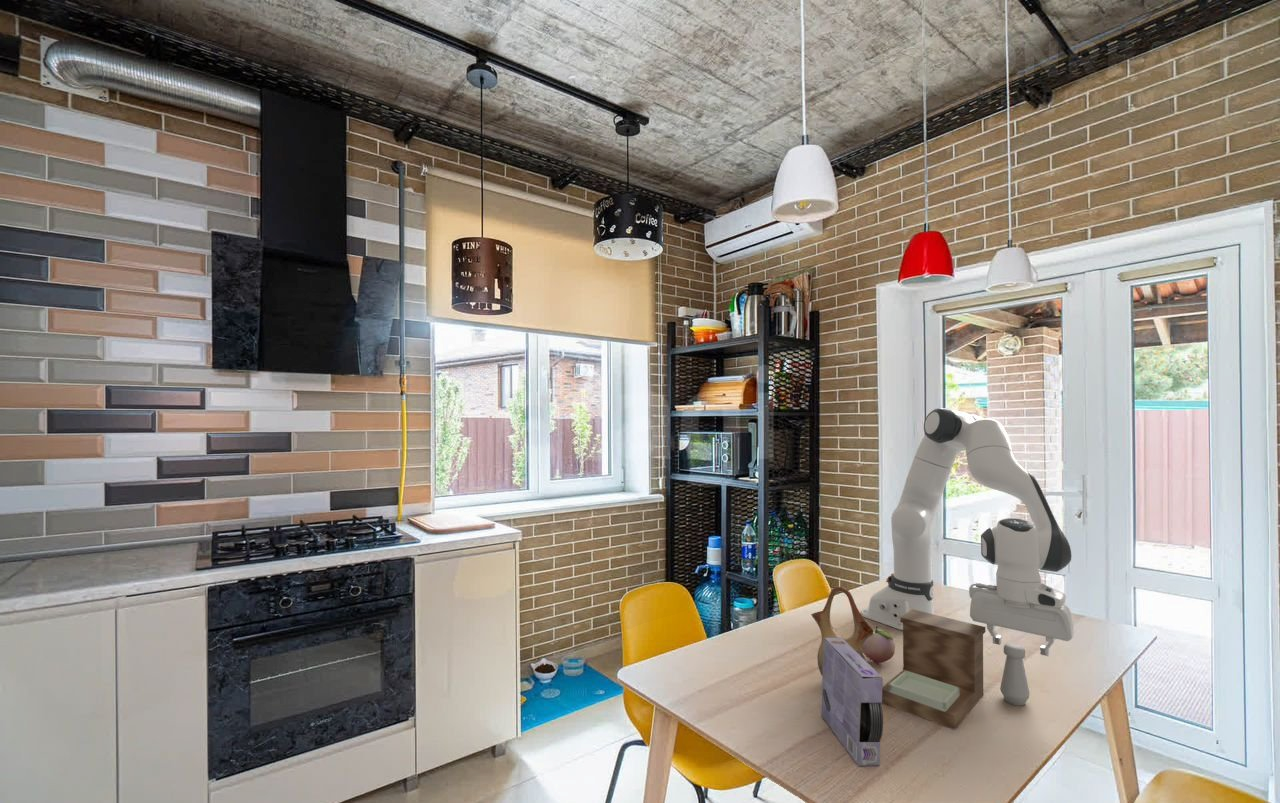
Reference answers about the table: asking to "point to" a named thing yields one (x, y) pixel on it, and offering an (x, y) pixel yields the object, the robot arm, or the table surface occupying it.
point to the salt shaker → (1014, 676)
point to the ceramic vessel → (827, 631)
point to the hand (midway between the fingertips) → (1020, 649)
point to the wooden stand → (941, 663)
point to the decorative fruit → (879, 646)
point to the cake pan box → (852, 701)
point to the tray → (924, 690)
